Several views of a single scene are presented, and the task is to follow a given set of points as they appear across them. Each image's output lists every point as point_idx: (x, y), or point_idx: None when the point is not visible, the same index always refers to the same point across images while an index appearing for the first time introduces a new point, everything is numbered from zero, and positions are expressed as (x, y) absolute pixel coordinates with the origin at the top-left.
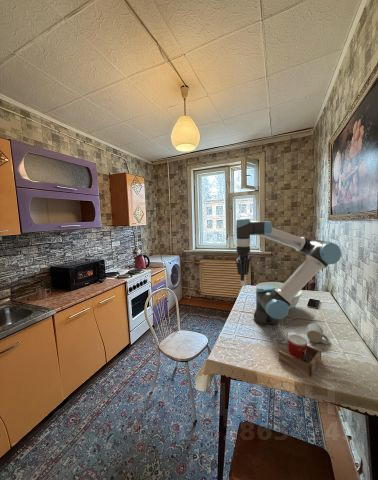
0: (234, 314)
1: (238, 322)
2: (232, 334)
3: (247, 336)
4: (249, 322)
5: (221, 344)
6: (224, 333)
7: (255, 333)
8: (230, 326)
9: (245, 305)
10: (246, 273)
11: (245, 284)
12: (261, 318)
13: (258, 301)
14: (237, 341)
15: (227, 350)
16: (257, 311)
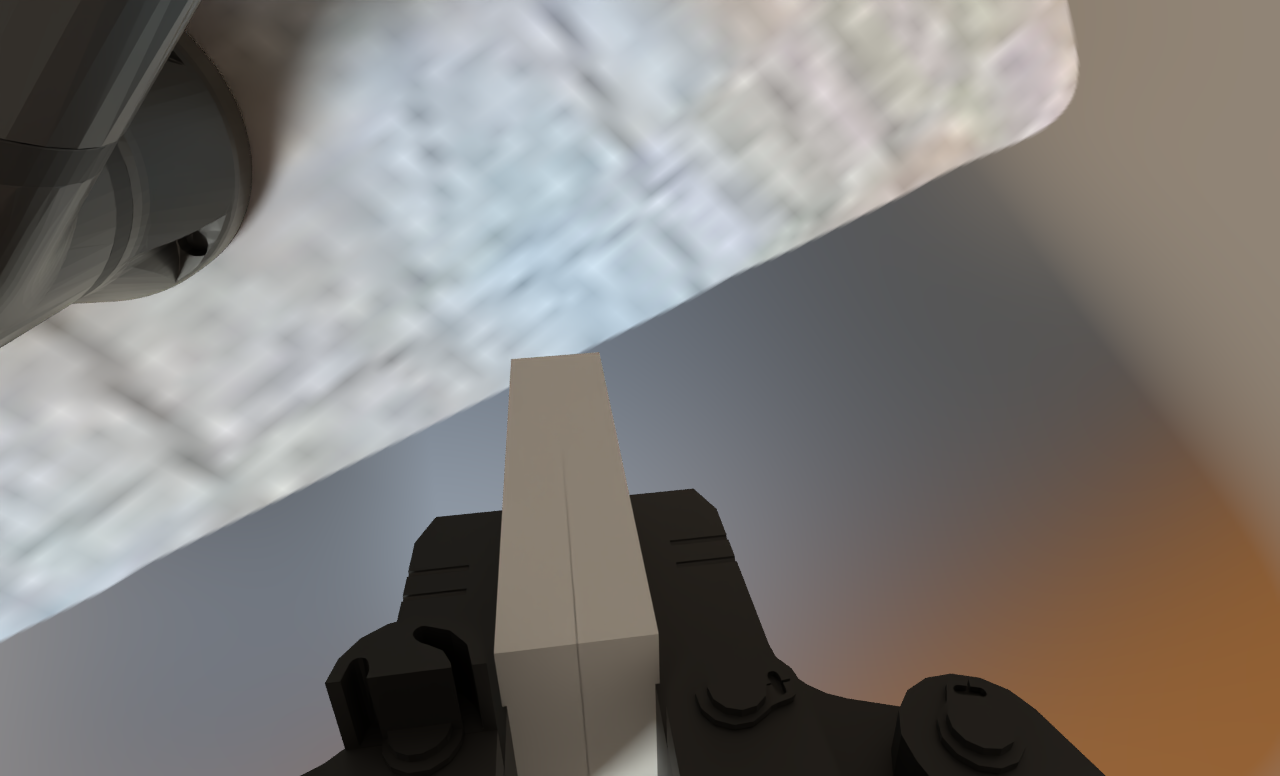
0: (329, 464)
1: (426, 330)
2: (660, 223)
3: (574, 87)
4: (317, 249)
5: (864, 187)
6: (702, 288)
7: (453, 55)
8: (558, 333)
9: (35, 527)
10: (449, 735)
11: (566, 380)
12: (192, 126)
13: (60, 244)
14: (724, 107)
15: (905, 84)
16: (152, 225)
